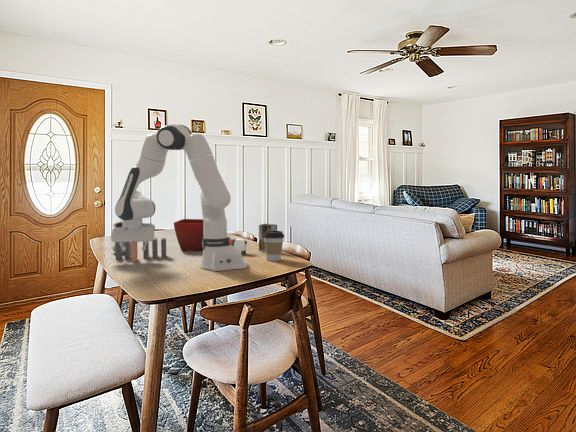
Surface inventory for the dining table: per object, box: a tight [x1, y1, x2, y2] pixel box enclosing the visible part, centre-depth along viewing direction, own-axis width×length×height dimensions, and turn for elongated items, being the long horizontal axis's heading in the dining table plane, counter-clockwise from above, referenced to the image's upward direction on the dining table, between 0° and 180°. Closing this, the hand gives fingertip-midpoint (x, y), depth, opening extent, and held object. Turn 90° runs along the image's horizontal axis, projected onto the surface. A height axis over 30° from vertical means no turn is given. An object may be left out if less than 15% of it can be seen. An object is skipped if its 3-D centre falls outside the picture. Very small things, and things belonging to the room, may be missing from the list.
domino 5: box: [151, 237, 159, 259], centre depth 192 cm, size 2×5×10 cm, turn 13°
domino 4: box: [142, 241, 150, 260], centre depth 191 cm, size 2×5×10 cm, turn 13°
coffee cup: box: [263, 230, 285, 262], centre depth 189 cm, size 11×11×15 cm
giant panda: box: [227, 236, 248, 256], centre depth 204 cm, size 15×6×10 cm, turn 82°
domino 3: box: [131, 242, 139, 263], centre depth 183 cm, size 2×5×10 cm, turn 13°
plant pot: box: [173, 218, 204, 251], centre depth 217 cm, size 19×19×17 cm
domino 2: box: [124, 242, 132, 260], centre depth 189 cm, size 2×5×10 cm, turn 13°
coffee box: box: [258, 223, 278, 253], centre depth 210 cm, size 9×6×16 cm
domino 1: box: [114, 242, 123, 260], centre depth 188 cm, size 2×5×10 cm, turn 13°
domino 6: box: [160, 237, 167, 259], centre depth 193 cm, size 2×5×10 cm, turn 13°
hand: (133, 250), depth 183 cm, fingers open, 8 cm apart
